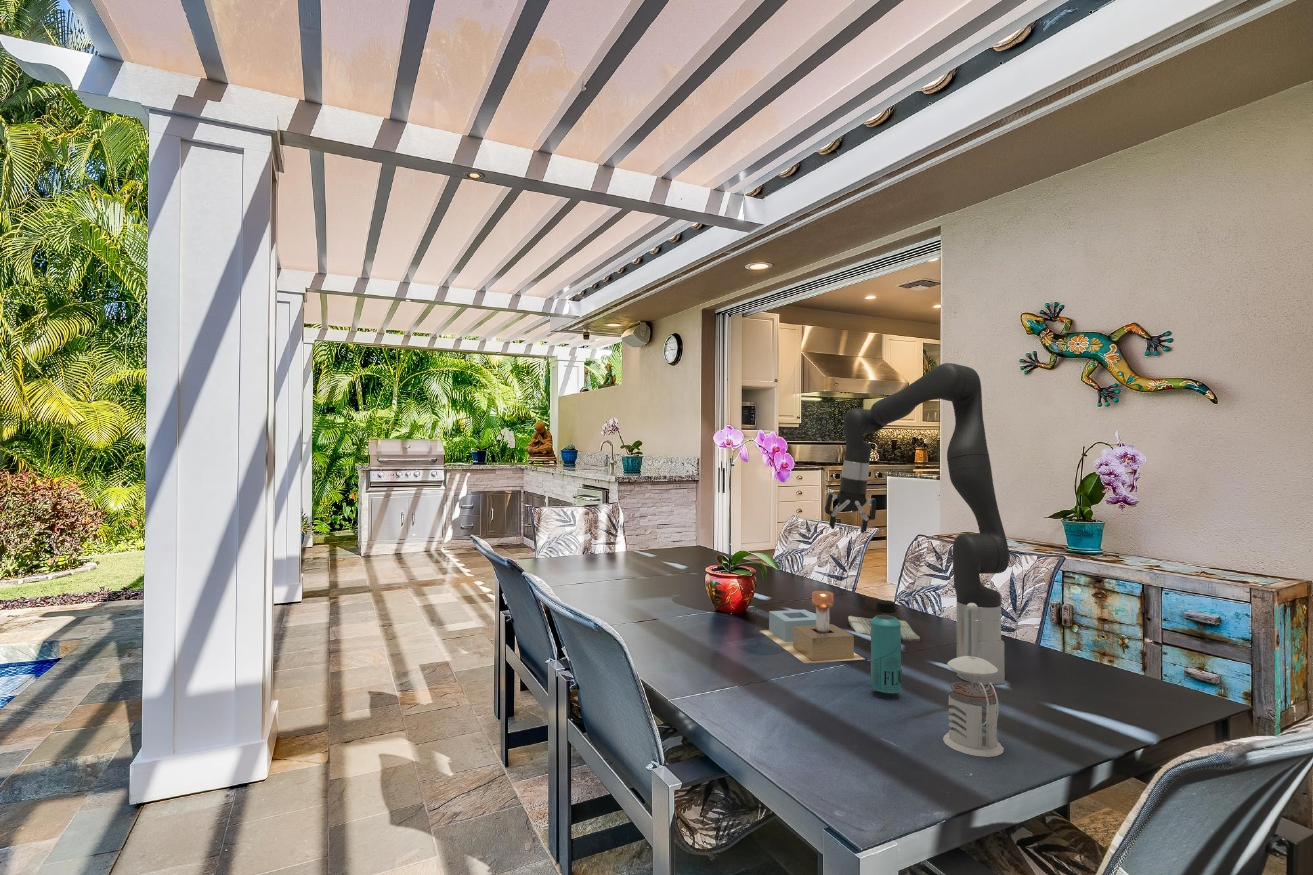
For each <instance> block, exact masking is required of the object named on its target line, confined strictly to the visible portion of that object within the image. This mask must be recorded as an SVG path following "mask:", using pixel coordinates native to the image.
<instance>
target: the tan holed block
mask: <svg viewBox="0 0 1313 875" xmlns="http://www.w3.org/2000/svg"><path fill="white" fill-rule="evenodd" d="M793 648H794V649H796V650H797V651H798V652H800V653H801V654H803V655H804V656H806V657H807V658H808V659H810V660H811V661H823V660H838V659H852V658H854V653H855V636H854V635H853V634H851V633H850V632H847V631H846V630H844V629H843V628H840V627H839V626H836V625H835V624H831V623H829V633H824V634H818V633H817V632H816V625H807V626H793Z"/></svg>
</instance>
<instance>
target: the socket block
mask: <svg viewBox="0 0 1313 875" xmlns="http://www.w3.org/2000/svg"><path fill="white" fill-rule="evenodd" d="M768 617H769V618H768V624H769V625H768V630H769V631H770V632H771V633H773V634H774V635H776V636H777V637H778V638H780V639H781V640H783V641H784V642H793V626H807V625H816V614H814V613H813V612H811V611H809V610H807V609H789V610H771V611H770V610H769V611H768Z"/></svg>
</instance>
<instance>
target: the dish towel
mask: <svg viewBox="0 0 1313 875" xmlns="http://www.w3.org/2000/svg"><path fill="white" fill-rule="evenodd" d="M872 619H873V618H869V617H868V618H867V617H862V616H860V617H859V616H853V615H849V616H848V617H847V620H848V623H849V626H850V628H851V629H853V630H854V631H855V633H856V634H865V635H867V636H869V637H871V623H870V621H871V620H872ZM898 620H899V621H900V623H901V635H902V636H901V640H902V642H915V641H921V639H920V638H921V637H920V636H919V635H917V633H916V632H914V630H913V629H912V628H911V626H910V624H909V623H908V622H907V621H906V620H900V619H898Z"/></svg>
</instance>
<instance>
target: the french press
mask: <svg viewBox="0 0 1313 875" xmlns="http://www.w3.org/2000/svg"><path fill="white" fill-rule="evenodd" d="M966 609H967V610H971V635H972V656H962V657H958V658H957V657H955V658H952V659H951V660H948V662H947V663H946V664H947V666H948V667H949V669H950V670H952V671H954V672H956V673H957V672H959V673H962V674H967V675H972V682H969V681H957V682H953V683H952V684H951V685H950V688H951V691H949V693H948V706H951V707H949V708H948V713H951V714H950V715H949V716H948V720H950V722H948V727H949V728H950V727H951V728H950V729H949V730H948V732H947V733H945V734H944V735H943V737H942V741H943V742H944V743H945V745H947V746H948V747H949V748H951V749H952V750H955V751H957V752H960V753H963V754H966V755H971V756H975V757H984V758H986V757H987V758H989V757H996V756H997V757H998V756H999V755H1002V754H1003V753H1004V749H1005V748H1004V747H1003V746H1002V744H1001V743H1000V742H999V741H998V726H997V725H998V719H999V698H998V696H997V692H996V690H995V687H994V684H991V683H990V682H989V683H988V685H982V683H981V682H979V684H977V683H973V676H991V675H994V674H995V673H997V671H998V669H997V668H996V667H995V666H994V665H992V664H991V663H989V662H988V661H986V660H984V659H982V658H978V657H974V656H973V611H977V610H978V606H977V605H976V604H975V603H968V604H967V607H966ZM980 684H981V685H980ZM990 686H991V687H990ZM974 704H978V705H974ZM982 705H983V706H985V708H983V706H982ZM983 713H986V715H983ZM983 720H985V721H984V722H983ZM983 727H986V729H983Z"/></svg>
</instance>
